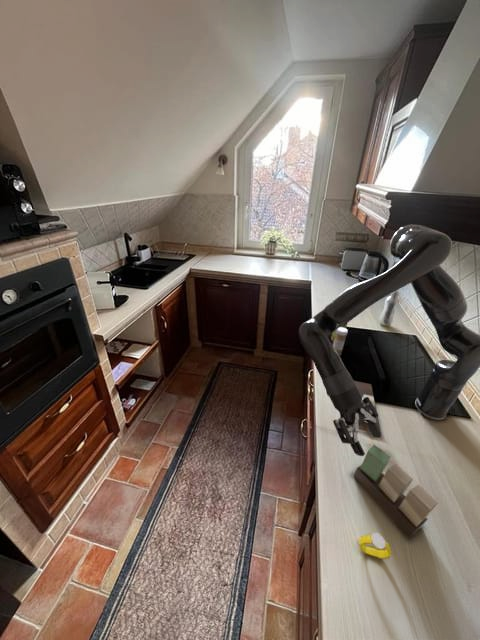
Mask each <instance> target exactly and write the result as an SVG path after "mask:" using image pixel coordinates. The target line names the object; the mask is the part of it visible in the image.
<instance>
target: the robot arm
mask: <svg viewBox="0 0 480 640" xmlns="http://www.w3.org/2000/svg"><path fill="white" fill-rule="evenodd" d="M452 249H453V241H452V239H451V238H450V236H449V235H447V234H445V233H444V232H441V231H439V230H437V229H436V230H435V229H433V228H430V227H428V226H425V225H421V224H407V225H404V226H402V227H400V228H399V229H398V230H397V231H395V233H394V234H393V235H392V237H391V240H390V243H389V252H390V255H391V258H392V259H393V260H394V261H395V263H396V264H395V265H394V266H392V267H391V268H389V269H388V270H386V271H385V272H383V273H380V274H378V275H376V276H374V277H372V278H369V279H366V280H363V281H361V282H358V283H355V284H353V285H351V286H349V287H348V288H346V289H345V290H343V291H342V292H341V293H339V294H338V295H337V296H335V297H334V298H333V299H332V300H331V301H330V302H329V303H328V304H326V306H325V307H324V308H323V309H322V310H320V312H318V313H317V314H315V315H314V316H312V317H311V318H310V319H308V320H307V321H305V322H303V323H302V324H301V325H300V326H299V328H298V331H297V333H298V339H299V342H300V343H301V345H302V348H304V350H305V352H306V354H307V355H308V356H309V358H310V359H311V360H312V362H313V363H314V366H315V369H316V370H317V372H318V375H319V376H320V379H321V381H322V384H323V387H324V389H325V391H326V393H327V395H328V397H329V399H330V401H331V403H332V405H333V407H334V409H335V410H337V411H338V413H339V415H340V416H339V418H338V419H333V421H332V422H333V425H334V428H335V430H336V433H337V435H338V437H339V439H340V441H341V443H342V444H347V445H350V446H351V449H352V451H353V454H355V455H356V456H359V457H364V456H366V453H365V451H364V448H363V447H362V445H361V443H360V441H359V440H358V433H359V432H360V429H359V426H360V425H361V423H362V422H364V421H365V422H367V423H368V424H367V426H368V427H369V429H370V431H371V432H370V433H371V436H372V437H373V438H377V439H378V438H381V437H382V435H381V434H382V432H381V433H380V430H381V429H380V430H379V428H378V426H377V424H376V417H378V418H379V413H378V411H376V410H377V409H376V410H375V408H374V406H373V404H372V403H371V401H370V399H369V397H361V395H360V393H359V391H358V389H357V387H356V385H355V383H354V381H355V380H354V379H353V377H352V375H351V373H350V372H349V371H348V369H347V367H346V366H345V364H344V362H343V360H342V358H341V355H340V356H339V354H338V353H337V351H336V350H334V349H333V344H332V343H331V342H330V339H329V338H328V337H329V336H330V335H332V334H333V332H334V331H335V330H337V329H338V328H339V327H341V326H343V325H345V324H346V323H347V324H348V323H350V322H351V321H352V320H353V319H355V318H356V317H357V316H359V315H360V314H361V313H363V312H364V311H365V310H366V309H368V308H370V307H371V306H373V305H374V304H376V303H377V302H379V301H381V300H382V299H384V298H387V297H388V296H390V295H391V293H393V292H395V291H397V292H398V291H399V290H400V289H402V288H404V287H406V286H407V285H409V284H410V285H411V287H412V289H413V291H414V294H415V295H416V297H417V299H418V301H419V303H420V305H421V307H422V309H423V311H424V313H425V315H426V316H427V317H428V319H429V320H430V323H431V324H432V326H433V327H434V329H435V331H436V334H437V339H438V342H439V344H440V346H441V347H442V349H443V350H444V351H445V352H447V353H448V354H449V355H451V356H452V357H454V358H455V359H456V360H452V359H440V360H437V361H436V363H435V364H434V367H433V368H432V370H431V372H430V374H429V376H428V378H427V379H426V381H425V383H424V385H423V387H422V389H421V390H420V393H419V395H418V397H417V398H416V399H415V402H414V403H415V404H414V405H415V407H416V408H417V410H419V412H420V414H421V415H422V416H424V417H425V418H427V419H430V420H433V421H443V420H445V418H446V416H447V414H448V413H449V411H450V410H451V408H452V407H453V405H454V403H455V402H456V400H457V399H458V398H459V396H460V394H461V393H462V391H463V390H464V388H465V386H466V384H467V383H468V381H469V380H470V379H471V378H472V377H473V376H475V374H477V372H478V370H479V369H480V334H479V333H477V332H475V331H473V330H471V329H470V328H468V327H467V326H466V325H465V323H464V322H463V321H462V319H463V318H464V317H465V315H466V314H467V311H468V303H467V300H466V297H465V295H464V292H463V290H462V288H461V287H460V285H459V284H458V283H457V281H455V279H454V278H453V277H452V276H451V275H450V274H449V273H448V272H447V271H446V270H445V269H444V268H443V267H442V266H441V265H442V264H443V263H444V262H445V261H447V259H448V258H449V256H450V255H451V252H452ZM370 410H371V411H372V413H371V412H370ZM349 425H350V426H352V427H353V428H352V427H349Z"/></svg>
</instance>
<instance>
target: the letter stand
mask: <svg viewBox="0 0 480 640" xmlns="http://www.w3.org/2000/svg"><path fill="white" fill-rule="evenodd" d="M360 467H361V465H359V466H357V467H356V470H355V472H354V474H353V478H355V479H356V480H357V481H358V483H359V484H360V485H361V486H362V487H363V488H364V490H365V491H366V492H367V493H368V494H369V495H370V496H371V497H372V499H373V500H374V501H375V502H376V503H377V504H378V505H379V507H380V508H381V509H382V510H383V511H384V512H385V513H386V514H387V516H388V517H389V518H390V519H391V520H392V522H393V523H395V525H396V526H397V527H398V528H399V529H400V530H401V531H402V533H403V534H404V535H405V536H406V537H407V538H408V539H410V538H412V536H414V535H415V534H416V533H417V532H418V531H419V530H420V529H421V528H422V527H423V526H424V524H426V522H427V521H428V516H429V515H430V514H431V512H433V510H434V509H435V508H436V506H438V504H439V502H438V501H437V500H436V499H435V498H434V497H432V495H431V494H430V493H428V492H427V491H426V490H425V489H424V488H423V487H422V486H421V485H420V484H419V483H417V484H416V485H414V486H413V487H412V488H411V489H410V490H409V491H408V493H407V494H406V495H405V492H406V491H407V490H408V488H409V487H410V485H411V483H412V482H413V480H414V478H413V477H412V476H410V475H409V474H408V473H407V472H406V471H405V470H404V469H403V468H402V467H401V466H400V465H399V464H398V463H396V462H395V463H393V464H392V465H390V466H389V467H387V470H386V472H385V474H384V473H383V472H382V474H381V476H380V477H379V478H378V480H377V481H376V482H375V481H374V480H373V479H372V478H371V477H369V476H368V475H367V474H366V473H365V472H364V471H362V470H361V469H360Z"/></svg>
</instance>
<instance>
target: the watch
mask: <svg viewBox="0 0 480 640" xmlns="http://www.w3.org/2000/svg"><path fill="white" fill-rule="evenodd" d="M358 542H359V548H360V550H361V552H363V553H364V554H366V555H368V556H372V557H373V558H374V557H375V558H377V559H383V560H384V559H385V560H386V559H389V558H390V557H391V556H392V552H391V546H390V544H389V543H388V542H387V541H386V540H385V538H384V537H383V536H382V534H380V533H378V532H373V533H371V535H368V534H367V535H363V536H360V537H359V540H358ZM367 544H370V545H372V546H373V547H374V548H373V547H370V546H367Z"/></svg>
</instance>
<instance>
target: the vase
mask: <svg viewBox="0 0 480 640" xmlns="http://www.w3.org/2000/svg"><path fill="white" fill-rule="evenodd" d="M347 326H348V323H346V324H345V325H343V326H341V327H343V328H346V329H347ZM336 333H337V330H335V331H334V332H333V333H332V334H331V337H330V340H331V341H332V342H333V343H334V341H335V337H336Z"/></svg>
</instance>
